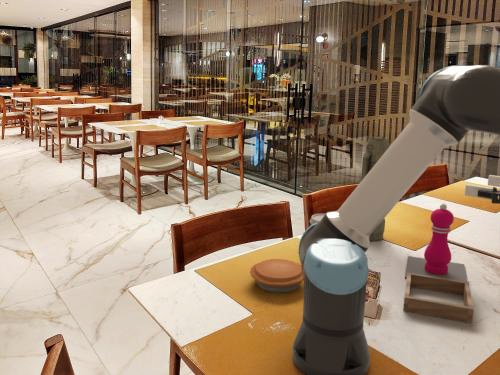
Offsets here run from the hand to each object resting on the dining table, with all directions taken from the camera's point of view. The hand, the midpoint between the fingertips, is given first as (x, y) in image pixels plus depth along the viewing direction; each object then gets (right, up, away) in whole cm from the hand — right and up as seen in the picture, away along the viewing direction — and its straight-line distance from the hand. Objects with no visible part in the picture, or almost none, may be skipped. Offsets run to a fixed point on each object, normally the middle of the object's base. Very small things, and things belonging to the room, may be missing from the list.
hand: (477, 184), depth 115 cm
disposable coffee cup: (-35, -22, +27) cm, 49 cm away
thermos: (-16, -18, +41) cm, 48 cm away
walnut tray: (-12, -29, -3) cm, 32 cm away
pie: (-51, -27, +7) cm, 58 cm away
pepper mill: (-5, -25, +14) cm, 29 cm away
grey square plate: (-5, -25, +14) cm, 29 cm away
